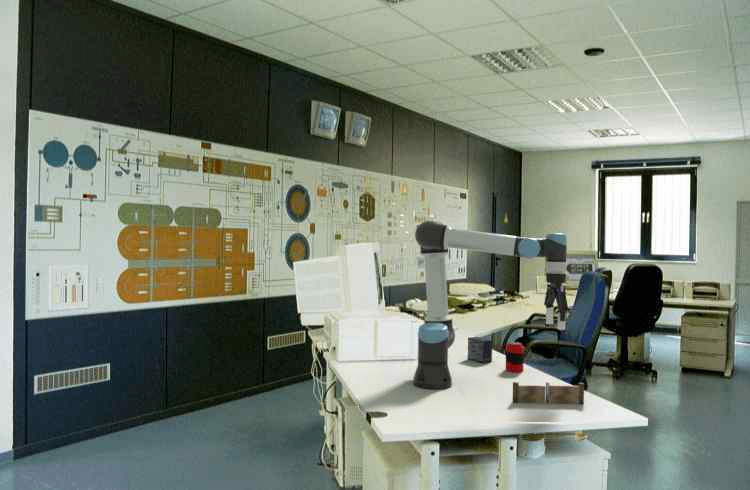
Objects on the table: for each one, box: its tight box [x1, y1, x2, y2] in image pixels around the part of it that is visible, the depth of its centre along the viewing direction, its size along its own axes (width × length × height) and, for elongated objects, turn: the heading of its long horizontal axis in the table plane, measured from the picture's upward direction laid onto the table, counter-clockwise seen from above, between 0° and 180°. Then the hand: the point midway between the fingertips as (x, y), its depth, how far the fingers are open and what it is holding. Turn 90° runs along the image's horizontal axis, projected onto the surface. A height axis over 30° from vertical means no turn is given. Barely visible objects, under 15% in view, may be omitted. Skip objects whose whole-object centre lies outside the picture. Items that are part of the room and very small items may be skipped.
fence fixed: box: [512, 381, 546, 404], centre depth 193 cm, size 11×2×7 cm, turn 89°
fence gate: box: [544, 382, 585, 405], centre depth 192 cm, size 13×2×7 cm, turn 89°
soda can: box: [505, 341, 525, 373], centre depth 242 cm, size 8×8×12 cm
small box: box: [467, 336, 493, 364], centre depth 262 cm, size 11×6×10 cm, turn 34°
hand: (555, 326), depth 217 cm, fingers open, 13 cm apart
